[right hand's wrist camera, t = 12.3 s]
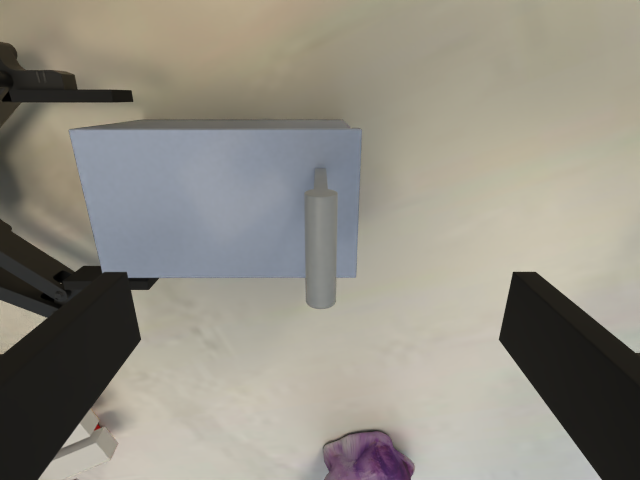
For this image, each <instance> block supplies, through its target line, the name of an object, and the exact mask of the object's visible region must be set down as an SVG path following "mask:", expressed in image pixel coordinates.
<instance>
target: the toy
mask: <svg viewBox="0 0 640 480" xmlns="http://www.w3.org/2000/svg"><path fill="white" fill-rule="evenodd" d="M98 422H99V418H98V417H97V416H96V415H95V413H94V412H93V411H92V410H91V408H90V410H89V411H88V412H87V414H86V415H85V417H84V418H83V419H82V421H81V422H80V423H79V425H78V426H77V427H76V429H75V430H74V431H73V433H72V434H71V436H70V437H69V438H68V440H67V441H66V442H65V444H64V445H63V446H62V448H61V449H60V450H59V452H58V453H57V455H56V456H55V457H54V459H53V460H52V461H51V463H50V464H49V465H48V467H47V468H46V469H45V471H44V472H43V474H42V475H41V476H40V478H39V479H38V480H65V479H67V478H69V477H72V476H74V475H77V474H79V473H81V472H84V471H86V470H88V469H91V468H93V467H96V466H98V465H100V464H103V463H105V462H108V461H110V460H111V458H112V456H113V454H114V452H115V449H116V447H117V445H118V442H117V441H116V440H115V439H114V437H113V436H112V435H111V434H110V432H109V431H108V430H107V429H106V427H105V426H104V427H102V428H101V427H100V426H99V425H98ZM74 480H78V479H74Z"/></svg>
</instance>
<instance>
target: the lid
mask: <svg viewBox="0 0 640 480" xmlns="http://www.w3.org/2000/svg"><path fill="white" fill-rule="evenodd" d="M69 134H70V138H71V142H72V146H73V151H74V155H75V159H76V163H77V168H78V172H79V176H80V180H81V184H82V189H83V193H84V197H85V201H86V206H87V210H88V214H89V218H90V222H91V227H92V231H93V235H94V239H95V244H96V248H97V252H98V256H99V261H100V265H101V269H102V273H104V272H127V275H128V278H306V303H307V304H308V305H309V306H310V307H312V308H316V309H326V308H329V307H332V306H333V305H334V304H335V302H336V278H355V277H356V267H357V241H358V216H359V190H360V165H361V140H362V130H361V129H360V128H76V129H69Z"/></svg>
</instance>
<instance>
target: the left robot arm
mask: <svg viewBox="0 0 640 480" xmlns="http://www.w3.org/2000/svg"><path fill="white" fill-rule="evenodd" d="M16 59H17V51H16V49H15V48H14V47H13V46H12V45H11V44H9V43H4V42H0V127H1V126H2V125H3V124H4V123H5V121H6V120H7V119H8V118H9V117H10V115H11V114H12V113H13V112H14V111H15V109H16V108H17V107H18V106H19V105H20V103H21V102H133V97H132V91H131V90H78V89H77V84H76V80H75V75H73V74H71V73H68V72H64V71H54V70H25V69H23V68H22V67H21V66H20V64H19V63H18V61H17V60H16ZM11 230H12V228H11V226H10V225H8V224H7V223H5V222H4V221H2V220H1V219H0V300H2V301H5V302H7V303H10V304H13V305H15V306H18V307H21V308H23V309H26V310H29V311H31V312H34V313H37V314H39V315H42V316H44V317H47V318H48V317H49V316H51V315H52V314H53V313H54V312H56V311H57V310H58V309H59V308H61V307H62V306H63V305H64V304H65V303H67V302H68V301H69V300H70V299H72V298H73V297H74V296H75V295H77V294H78V293H79V292H80V291H81V290H83V289H84V288H85V287H86V286H88V285H89V284H90V283H91V282H93V281H94V280H95V279H96V278H97V277H99V276H100V275H101V274H102V269H101V266H83V267H81V268H80V269H79V270H77V271H76V272H74V271H73V270H71V269H70V268H68V267H66V266H65V265H63V264H62V263H60V262H59V261H57V260H55V259H54V258H52V257H51V256H49V255H47V254H46V253H44V252H43V251H41V250H40V249H38V248H36V247H35V246H33V245H32V244H30V243H29V242H27V241H25V240H24V239H22V238H21V237H19V236H18V235H16V234H14V233H13V232H12V231H11ZM158 279H159V278H128V280H129V284H130V289H131V290H149V289H150V288H151V287H152V286H153V285H154V283H155V282H156V281H157V280H158ZM61 283H62V284H61Z"/></svg>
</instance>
